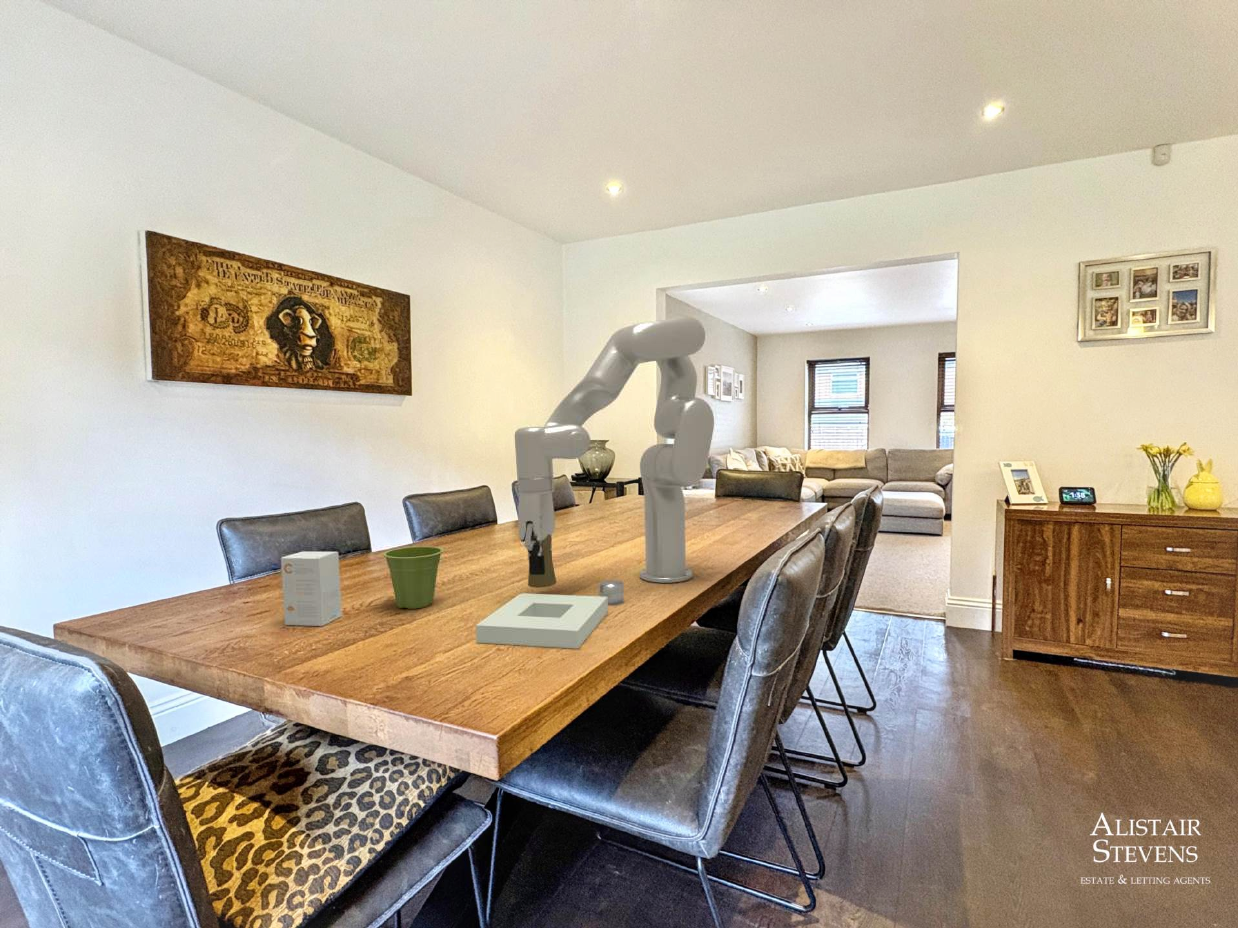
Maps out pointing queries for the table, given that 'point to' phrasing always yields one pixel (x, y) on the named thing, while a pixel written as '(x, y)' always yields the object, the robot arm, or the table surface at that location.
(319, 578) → the small box
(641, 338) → the robot arm
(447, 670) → the table surface
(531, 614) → the hole board
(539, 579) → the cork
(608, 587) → the short metal pin
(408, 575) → the plant pot
